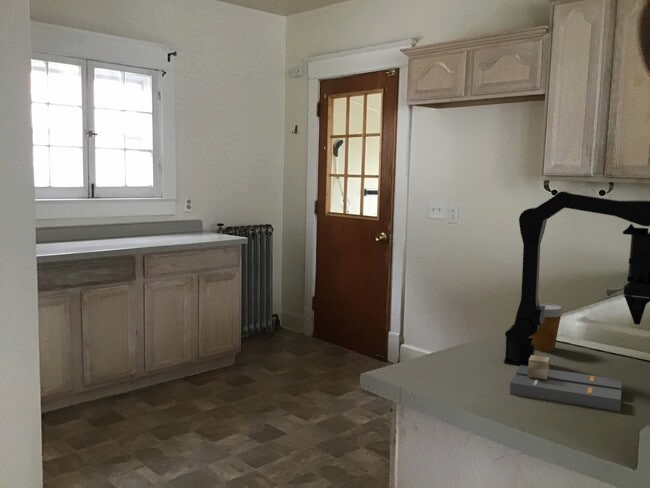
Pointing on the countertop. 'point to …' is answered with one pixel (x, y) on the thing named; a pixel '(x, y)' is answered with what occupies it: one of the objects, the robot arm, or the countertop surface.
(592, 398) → the fader console
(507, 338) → the robot arm
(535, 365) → the fader knob
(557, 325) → the disposable coffee cup
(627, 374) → the countertop surface
